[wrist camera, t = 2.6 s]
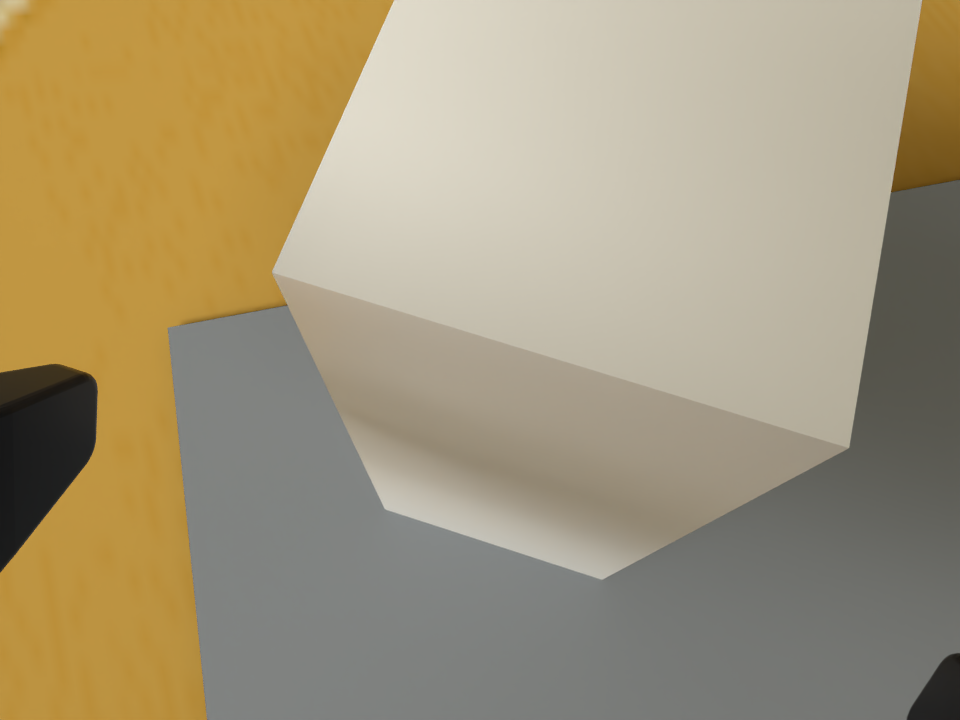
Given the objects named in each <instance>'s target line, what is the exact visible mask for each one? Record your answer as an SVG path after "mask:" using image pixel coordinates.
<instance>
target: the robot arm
mask: <svg viewBox="0 0 960 720" xmlns="http://www.w3.org/2000/svg"><path fill="white" fill-rule="evenodd" d="M97 393H98V390H97V383H96V380H95V379H94V378H93V377H92V376H91V375H90V374H88V373H85V372H82V371H79V370H76V369H73V368H70V367H67V366H64V365H60V364H49V365H43V366H37V367H31V368H25V369H19V370H13V371H7V372H1V373H0V572H1V571H2V570H3V569H4V567H5V566H6V565H7V564H8V563H9V561H10V560H11V559H12V558H13V557H14V555H15V554H16V553H17V552H18V550H19V549H20V548H21V547H22V545H23V544H24V543H25V541H26V540H27V539H28V538H29V536H30V535H31V534H32V533H33V531H34V530H35V529H36V527H37V526H38V525H39V524H40V522H41V521H42V520H43V519H44V517H45V516H46V515H47V513H48V512H49V511H50V510H51V508H52V507H53V506H54V505H55V503H56V502H57V501H58V499H59V498H60V497H61V496H62V494H63V493H64V492H65V491H66V489H67V488H68V487H69V485H70V484H71V483H72V482H73V480H74V479H75V478H76V477H77V475H78V474H79V473H80V471H81V470H82V469H83V468H84V466H85V465H86V464H87V462H88V461H89V459H90V457H91V455H92V453H93V450H94V447H95V442H96V423H97ZM907 720H960V653H955V654H950V655H948V656H947V657H946V658H944V659H943V661H942V662H941V663H940V664H939V666H938V667H937V669H936V670H935V672H934V673H933V675H932V676H931V678H930V679H929V681H928V682H927V684H926V685H925V687H924V688H923V690H922V691H921V693H920V694H919V696H918V697H917V699H916V700H915V702H914V703H913V705H912V706H911V708H910V710H909V713H908V715H907Z"/></svg>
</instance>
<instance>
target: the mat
mask: <svg viewBox="0 0 960 720" xmlns="http://www.w3.org/2000/svg"><path fill="white" fill-rule="evenodd" d="M168 334H169V344H170V354H171V364H172V374H173V384H174V394H175V404H176V414H177V424H178V434H179V444H180V454H181V464H182V474H183V484H184V494H185V504H186V514H187V524H188V534H189V544H190V554H191V564H192V574H193V584H194V594H195V604H196V614H197V624H198V634H199V644H200V654H201V664H202V674H203V684H204V693H205V703H206V713H207V720H907V715H908V713H909V710H910V708H911V706H912V705H913V703H914V702H915V700H916V699H917V697H918V696H919V694H920V693H921V691H922V690H923V688H924V687H925V685H926V684H927V682H928V681H929V679H930V678H931V676H932V675H933V673H934V672H935V670H936V669H937V667H938V666H939V664H940V663H941V662H942V661H943V659H944V658H946V657H947V656H948V655H950V654H955V653H960V180H956V181H951V182H945V183H940V184H935V185H929V186H924V187H918V188H913V189H908V190H902V191H897V192H892V193H891V194H890V200H889V207H888V213H887V219H886V225H885V231H884V237H883V243H882V249H881V256H880V262H879V268H878V274H877V280H876V286H875V292H874V299H873V305H872V311H871V317H870V323H869V329H868V335H867V341H866V348H865V354H864V360H863V366H862V372H861V378H860V384H859V390H858V397H857V403H856V409H855V415H854V421H853V427H852V433H851V440H850V446H849V448H848V449H847V450H845V451H843V452H841V453H839V454H837V455H835V456H833V457H832V458H830V459H828V460H826V461H824V462H822V463H820V464H818V465H817V466H815V467H813V468H811V469H809V470H807V471H805V472H803V473H802V474H800V475H798V476H796V477H794V478H792V479H790V480H788V481H787V482H785V483H783V484H781V485H779V486H777V487H775V488H773V489H772V490H770V491H768V492H766V493H764V494H762V495H760V496H758V497H757V498H755V499H753V500H751V501H749V502H747V503H745V504H743V505H742V506H740V507H738V508H736V509H734V510H732V511H730V512H728V513H727V514H725V515H723V516H721V517H719V518H717V519H715V520H713V521H711V522H710V523H708V524H706V525H704V526H702V527H700V528H698V529H696V530H695V531H693V532H691V533H689V534H687V535H685V536H683V537H681V538H680V539H678V540H676V541H674V542H672V543H670V544H668V545H666V546H665V547H663V548H661V549H659V550H657V551H655V552H653V553H651V554H650V555H648V556H646V557H644V558H642V559H640V560H638V561H636V562H635V563H633V564H631V565H629V566H627V567H625V568H623V569H621V570H620V571H618V572H616V573H614V574H612V575H610V576H608V577H606V578H605V579H603V580H601V579H598V578H595V577H592V576H589V575H586V574H583V573H579V572H576V571H573V570H570V569H567V568H564V567H561V566H558V565H555V564H552V563H549V562H546V561H542V560H539V559H536V558H533V557H530V556H527V555H524V554H521V553H518V552H515V551H512V550H509V549H506V548H502V547H499V546H496V545H493V544H490V543H487V542H484V541H481V540H478V539H475V538H472V537H469V536H466V535H462V534H459V533H456V532H453V531H450V530H447V529H444V528H441V527H438V526H435V525H432V524H429V523H426V522H422V521H419V520H416V519H413V518H410V517H407V516H404V515H401V514H398V513H395V512H392V511H389V510H386V509H385V508H384V506H383V504H382V502H381V500H380V498H379V496H378V494H377V492H376V490H375V488H374V485H373V483H372V481H371V479H370V477H369V475H368V473H367V471H366V469H365V467H364V464H363V462H362V460H361V458H360V456H359V454H358V452H357V450H356V448H355V446H354V444H353V441H352V439H351V437H350V435H349V433H348V431H347V429H346V427H345V425H344V423H343V420H342V418H341V416H340V414H339V412H338V410H337V408H336V406H335V404H334V402H333V400H332V397H331V395H330V393H329V391H328V389H327V387H326V385H325V383H324V381H323V379H322V376H321V374H320V372H319V370H318V368H317V366H316V364H315V362H314V360H313V358H312V356H311V353H310V351H309V349H308V347H307V345H306V343H305V341H304V339H303V337H302V335H301V332H300V330H299V328H298V326H297V324H296V322H295V320H294V318H293V316H292V314H291V312H290V309H289V307H288V305H287V306H282V307H277V308H271V309H266V310H261V311H255V312H250V313H244V314H239V315H234V316H228V317H223V318H218V319H212V320H207V321H202V322H196V323H191V324H186V325H180V326H175V327H170V328H168Z"/></svg>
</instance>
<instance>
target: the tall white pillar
mask: <svg viewBox="0 0 960 720" xmlns="http://www.w3.org/2000/svg"><path fill="white" fill-rule="evenodd" d="M921 4H922V0H394V2H393V4H392V6H391V9H390V11H389V13H388V15H387V18H386V20H385V22H384V24H383V26H382V29H381V31H380V33H379V35H378V38H377V40H376V42H375V44H374V46H373V49H372V51H371V53H370V55H369V58H368V60H367V62H366V64H365V66H364V69H363V71H362V73H361V75H360V78H359V80H358V82H357V84H356V86H355V89H354V91H353V93H352V95H351V98H350V100H349V102H348V104H347V106H346V109H345V111H344V113H343V115H342V118H341V120H340V122H339V124H338V126H337V129H336V131H335V133H334V135H333V138H332V140H331V142H330V144H329V146H328V149H327V151H326V153H325V155H324V158H323V160H322V162H321V164H320V166H319V169H318V171H317V173H316V175H315V178H314V180H313V182H312V184H311V186H310V189H309V191H308V193H307V195H306V198H305V200H304V202H303V204H302V206H301V209H300V211H299V213H298V215H297V218H296V220H295V222H294V224H293V226H292V229H291V231H290V233H289V235H288V238H287V240H286V242H285V244H284V246H283V249H282V251H281V253H280V255H279V258H278V260H277V262H276V264H275V266H274V269H273V271H272V274H273V276H274V278H275V280H276V282H277V284H278V286H279V289H280V291H281V293H282V295H283V297H284V299H285V301H286V303H287V305H288V307H289V309H290V312H291V314H292V316H293V318H294V320H295V322H296V324H297V326H298V328H299V330H300V332H301V335H302V337H303V339H304V341H305V343H306V345H307V347H308V349H309V351H310V353H311V356H312V358H313V360H314V362H315V364H316V366H317V368H318V370H319V372H320V374H321V376H322V379H323V381H324V383H325V385H326V387H327V389H328V391H329V393H330V395H331V397H332V400H333V402H334V404H335V406H336V408H337V410H338V412H339V414H340V416H341V418H342V420H343V423H344V425H345V427H346V429H347V431H348V433H349V435H350V437H351V439H352V441H353V444H354V446H355V448H356V450H357V452H358V454H359V456H360V458H361V460H362V462H363V464H364V467H365V469H366V471H367V473H368V475H369V477H370V479H371V481H372V483H373V485H374V488H375V490H376V492H377V494H378V496H379V498H380V500H381V502H382V504H383V506H384V508H385V509H386V510H389V511H392V512H395V513H398V514H401V515H404V516H407V517H410V518H413V519H416V520H419V521H422V522H426V523H429V524H432V525H435V526H438V527H441V528H444V529H447V530H450V531H453V532H456V533H459V534H462V535H466V536H469V537H472V538H475V539H478V540H481V541H484V542H487V543H490V544H493V545H496V546H499V547H502V548H506V549H509V550H512V551H515V552H518V553H521V554H524V555H527V556H530V557H533V558H536V559H539V560H542V561H546V562H549V563H552V564H555V565H558V566H561V567H564V568H567V569H570V570H573V571H576V572H579V573H583V574H586V575H589V576H592V577H595V578H598V579H601V580H603V579H605V578H606V577H608V576H610V575H612V574H614V573H616V572H618V571H620V570H621V569H623V568H625V567H627V566H629V565H631V564H633V563H635V562H636V561H638V560H640V559H642V558H644V557H646V556H648V555H650V554H651V553H653V552H655V551H657V550H659V549H661V548H663V547H665V546H666V545H668V544H670V543H672V542H674V541H676V540H678V539H680V538H681V537H683V536H685V535H687V534H689V533H691V532H693V531H695V530H696V529H698V528H700V527H702V526H704V525H706V524H708V523H710V522H711V521H713V520H715V519H717V518H719V517H721V516H723V515H725V514H727V513H728V512H730V511H732V510H734V509H736V508H738V507H740V506H742V505H743V504H745V503H747V502H749V501H751V500H753V499H755V498H757V497H758V496H760V495H762V494H764V493H766V492H768V491H770V490H772V489H773V488H775V487H777V486H779V485H781V484H783V483H785V482H787V481H788V480H790V479H792V478H794V477H796V476H798V475H800V474H802V473H803V472H805V471H807V470H809V469H811V468H813V467H815V466H817V465H818V464H820V463H822V462H824V461H826V460H828V459H830V458H832V457H833V456H835V455H837V454H839V453H841V452H843V451H845V450H847V449H848V448H849V446H850V440H851V433H852V427H853V421H854V415H855V409H856V403H857V397H858V390H859V384H860V378H861V372H862V366H863V360H864V354H865V348H866V341H867V335H868V329H869V323H870V317H871V311H872V305H873V299H874V292H875V286H876V280H877V274H878V268H879V262H880V256H881V249H882V243H883V237H884V231H885V225H886V219H887V213H888V207H889V200H890V194H891V188H892V182H893V176H894V170H895V164H896V157H897V151H898V145H899V139H900V133H901V127H902V121H903V115H904V108H905V102H906V96H907V90H908V84H909V78H910V72H911V66H912V59H913V53H914V47H915V41H916V35H917V29H918V23H919V16H920V10H921Z"/></svg>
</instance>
